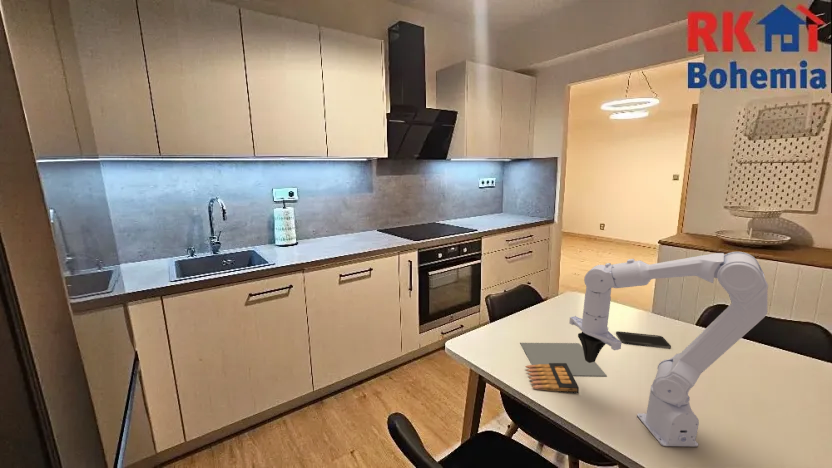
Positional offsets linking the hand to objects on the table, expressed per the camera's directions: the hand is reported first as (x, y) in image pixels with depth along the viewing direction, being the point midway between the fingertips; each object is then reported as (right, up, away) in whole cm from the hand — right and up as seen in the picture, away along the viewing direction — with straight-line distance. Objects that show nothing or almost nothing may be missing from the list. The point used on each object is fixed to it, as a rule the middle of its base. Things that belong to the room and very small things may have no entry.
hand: (590, 360), depth 89 cm
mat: (0, -6, +19) cm, 20 cm away
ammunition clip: (-1, -8, +8) cm, 11 cm away
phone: (+33, -5, +30) cm, 45 cm away
